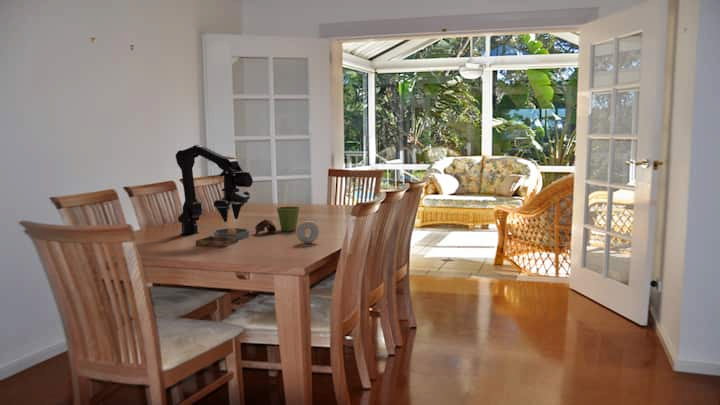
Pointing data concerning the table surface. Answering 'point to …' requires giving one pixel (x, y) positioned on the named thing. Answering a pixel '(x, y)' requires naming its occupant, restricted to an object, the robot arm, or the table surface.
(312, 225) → the donut
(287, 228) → the plant pot
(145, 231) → the table surface
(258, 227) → the broken clay ring
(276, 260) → the table surface
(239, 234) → the bowl
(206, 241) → the tray
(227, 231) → the ball
